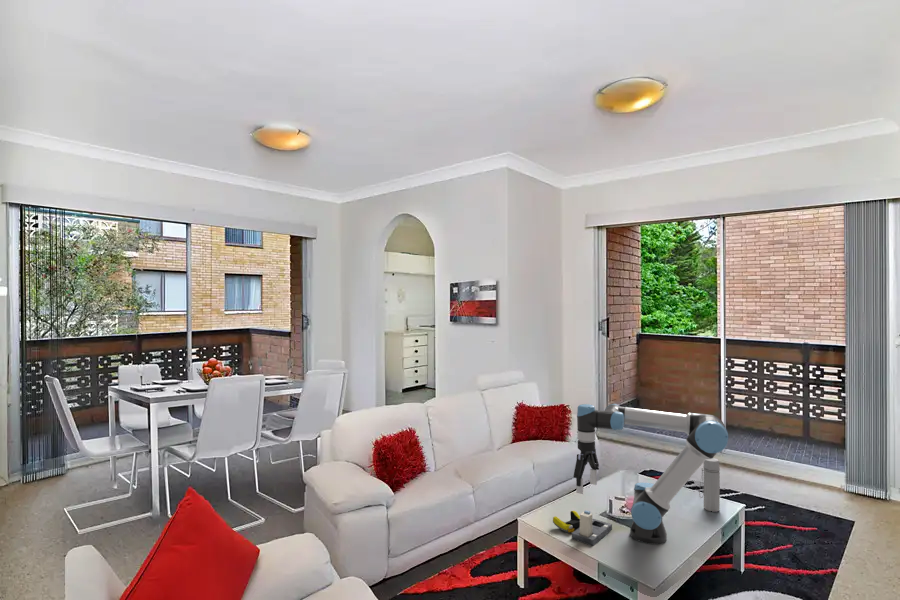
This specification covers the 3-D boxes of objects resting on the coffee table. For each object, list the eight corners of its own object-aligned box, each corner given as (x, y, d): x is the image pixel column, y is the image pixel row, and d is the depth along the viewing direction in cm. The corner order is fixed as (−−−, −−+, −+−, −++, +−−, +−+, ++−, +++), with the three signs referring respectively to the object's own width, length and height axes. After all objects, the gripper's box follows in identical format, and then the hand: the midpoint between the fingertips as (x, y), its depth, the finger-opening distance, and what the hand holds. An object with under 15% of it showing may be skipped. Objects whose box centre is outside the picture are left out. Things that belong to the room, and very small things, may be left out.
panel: (612, 529, 239) (612, 523, 239) (592, 545, 224) (592, 539, 224) (591, 523, 246) (591, 517, 246) (571, 538, 230) (571, 532, 230)
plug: (592, 538, 231) (592, 512, 230) (588, 542, 227) (588, 515, 227) (583, 536, 233) (583, 509, 233) (579, 539, 230) (579, 512, 230)
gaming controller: (550, 528, 241) (566, 536, 233) (550, 516, 241) (566, 524, 233) (573, 520, 250) (589, 528, 241) (573, 508, 250) (589, 516, 241)
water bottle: (720, 508, 262) (720, 458, 262) (718, 513, 256) (719, 462, 256) (700, 504, 267) (700, 455, 267) (698, 509, 261) (698, 459, 260)
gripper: (590, 433, 242) (591, 478, 242) (564, 445, 223) (565, 495, 223) (606, 435, 237) (606, 482, 237) (581, 448, 218) (581, 499, 218)
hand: (586, 488), depth 230 cm, fingers open, 13 cm apart
